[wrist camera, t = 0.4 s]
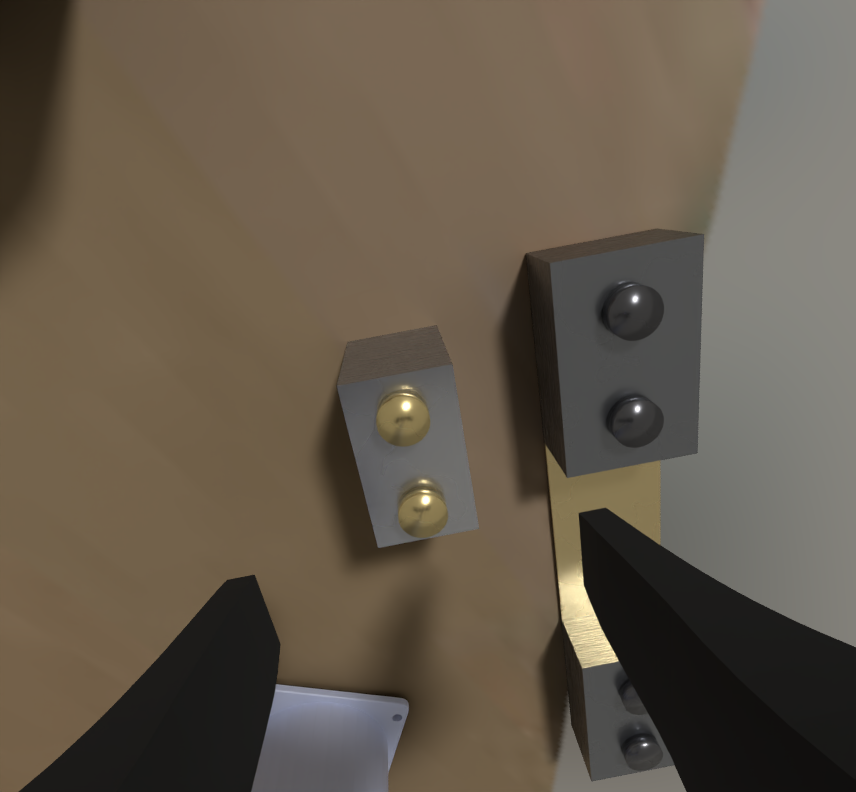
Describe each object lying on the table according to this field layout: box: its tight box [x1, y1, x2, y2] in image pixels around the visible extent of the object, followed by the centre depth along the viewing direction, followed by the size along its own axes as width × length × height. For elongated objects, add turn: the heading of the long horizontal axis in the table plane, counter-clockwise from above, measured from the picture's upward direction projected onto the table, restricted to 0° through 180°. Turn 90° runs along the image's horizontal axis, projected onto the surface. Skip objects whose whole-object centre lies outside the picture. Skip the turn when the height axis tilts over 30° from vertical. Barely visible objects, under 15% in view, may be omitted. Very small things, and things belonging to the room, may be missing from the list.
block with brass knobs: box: [337, 325, 479, 548], centre depth 18 cm, size 6×4×6 cm, turn 10°
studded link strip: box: [526, 229, 704, 781], centre depth 22 cm, size 26×5×4 cm, turn 10°
